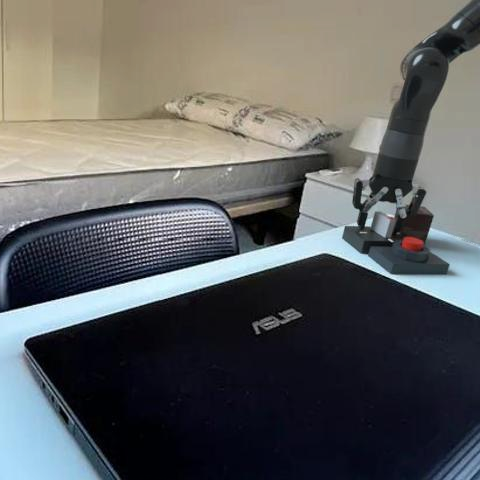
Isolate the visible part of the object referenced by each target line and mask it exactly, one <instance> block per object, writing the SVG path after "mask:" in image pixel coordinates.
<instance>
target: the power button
mask: <svg viewBox="0 0 480 480" xmlns="http://www.w3.org/2000/svg"><path fill="white" fill-rule="evenodd" d="M423 244H424V242H423V241H422V240H420V239H417V238H413V237H405V238H404V239H403V242H402V247H403V248H406V249H408V250H412V251H421V250H422V247H423Z"/></svg>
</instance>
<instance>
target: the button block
mask: <svg viewBox="0 0 480 480" xmlns="http://www.w3.org/2000/svg"><path fill="white" fill-rule="evenodd" d="M402 242H403V240H397V241H395V242H394V243H393V246H392V247H376V246H371V247H370V250H369V254H367V256H368V257H369V258H370V259H371V260H372V261H373V262H374V263H376V265H378V266H379V267H381V268H382V269H383V270H384V271H386V272H387V273H389V274H390V275H447V274H448V271H449V268H450V265H451V264H450V263H449V262H447V261H446V260H444V259H442V258H441V257H440V256H438V255H436V254H435V253H433V252H432V251H431V250H430V248H429V247H428V246H426V245H425V246H424V245H423V247H422V250H421V251H412V250H408V249H406V248H403V247H402Z"/></svg>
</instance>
